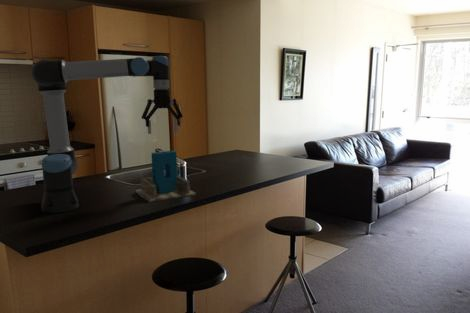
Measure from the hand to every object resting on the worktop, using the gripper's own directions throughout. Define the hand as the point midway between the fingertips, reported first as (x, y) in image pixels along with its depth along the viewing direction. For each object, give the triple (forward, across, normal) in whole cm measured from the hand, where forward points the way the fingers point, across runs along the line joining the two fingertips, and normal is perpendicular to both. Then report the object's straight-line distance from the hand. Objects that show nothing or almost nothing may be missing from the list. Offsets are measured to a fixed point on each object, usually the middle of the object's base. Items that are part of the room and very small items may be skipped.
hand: (163, 132), depth 196 cm
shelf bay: (+31, 0, 0) cm, 31 cm away
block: (+30, 0, 0) cm, 30 cm away
